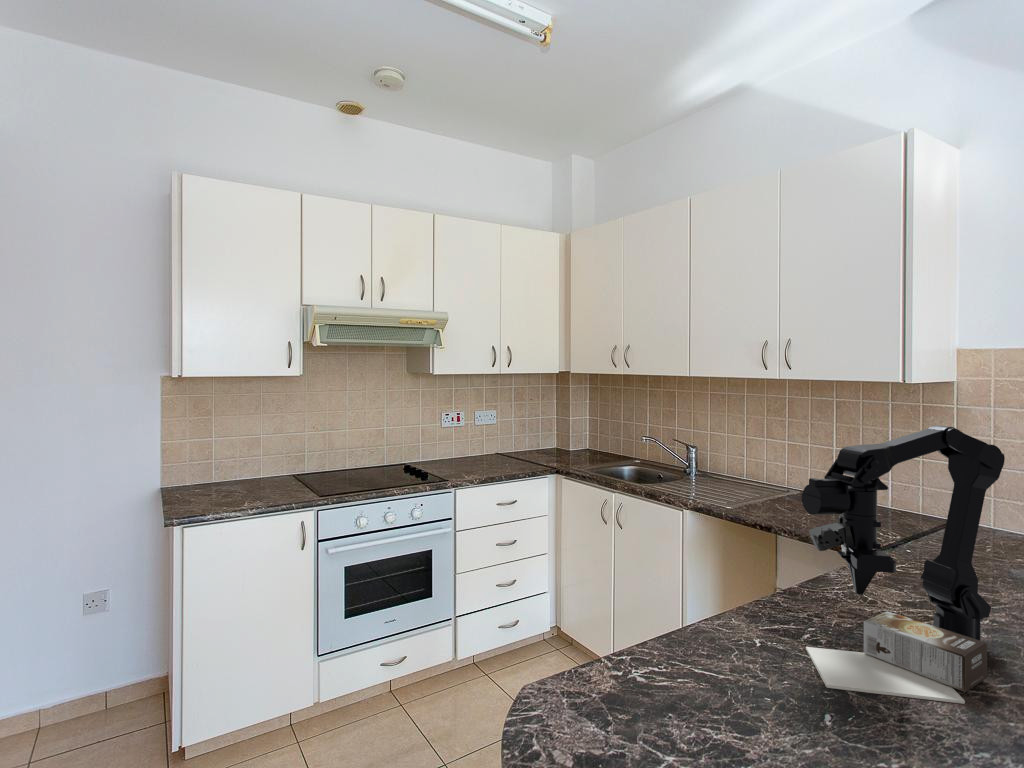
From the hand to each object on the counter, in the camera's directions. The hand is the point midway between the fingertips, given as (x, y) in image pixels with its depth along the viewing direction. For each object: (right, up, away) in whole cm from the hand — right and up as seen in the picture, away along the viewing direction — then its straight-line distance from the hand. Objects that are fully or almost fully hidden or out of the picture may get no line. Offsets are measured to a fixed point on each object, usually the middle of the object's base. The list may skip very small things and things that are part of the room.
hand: (859, 593), depth 111 cm
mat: (-2, -11, -10) cm, 14 cm away
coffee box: (+2, -7, -1) cm, 7 cm away
